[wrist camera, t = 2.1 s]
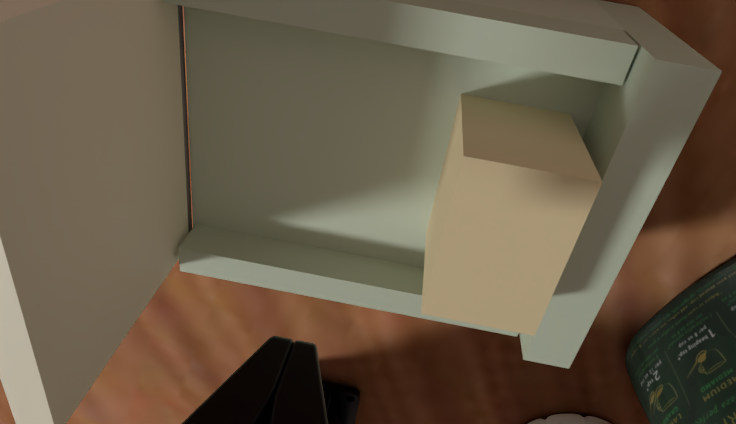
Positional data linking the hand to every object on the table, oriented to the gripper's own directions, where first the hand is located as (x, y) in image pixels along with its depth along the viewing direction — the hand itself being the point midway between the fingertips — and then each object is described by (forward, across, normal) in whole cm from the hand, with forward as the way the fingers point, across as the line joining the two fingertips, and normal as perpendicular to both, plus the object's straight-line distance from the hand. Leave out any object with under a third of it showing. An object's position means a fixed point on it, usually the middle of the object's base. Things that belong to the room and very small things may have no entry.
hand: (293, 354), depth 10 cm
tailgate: (+5, +7, 0) cm, 8 cm away
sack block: (+8, -4, 0) cm, 10 cm away
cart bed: (+12, 0, 0) cm, 13 cm away
